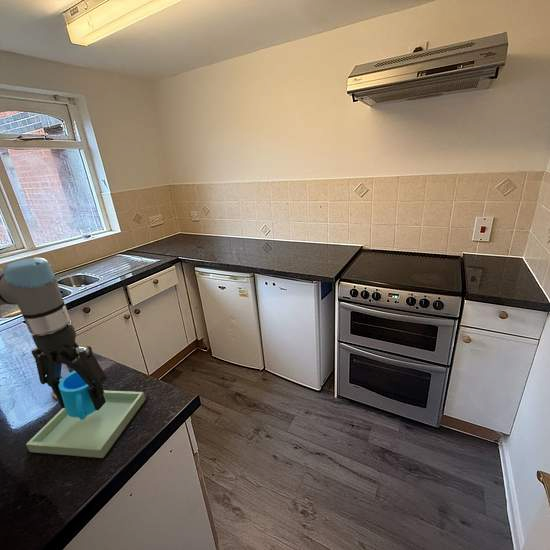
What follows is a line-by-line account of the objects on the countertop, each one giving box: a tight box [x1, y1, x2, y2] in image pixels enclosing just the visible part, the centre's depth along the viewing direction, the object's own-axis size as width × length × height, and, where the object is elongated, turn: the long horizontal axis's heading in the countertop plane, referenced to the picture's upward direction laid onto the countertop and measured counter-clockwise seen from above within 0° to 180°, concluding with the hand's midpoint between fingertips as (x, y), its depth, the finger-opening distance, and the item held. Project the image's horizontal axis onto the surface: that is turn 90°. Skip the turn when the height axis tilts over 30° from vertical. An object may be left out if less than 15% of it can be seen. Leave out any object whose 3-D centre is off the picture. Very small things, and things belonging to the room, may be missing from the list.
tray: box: [25, 389, 147, 459], centre depth 76 cm, size 20×18×2 cm
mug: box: [59, 370, 96, 420], centre depth 73 cm, size 12×8×8 cm
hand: (83, 404), depth 74 cm, fingers open, 9 cm apart
